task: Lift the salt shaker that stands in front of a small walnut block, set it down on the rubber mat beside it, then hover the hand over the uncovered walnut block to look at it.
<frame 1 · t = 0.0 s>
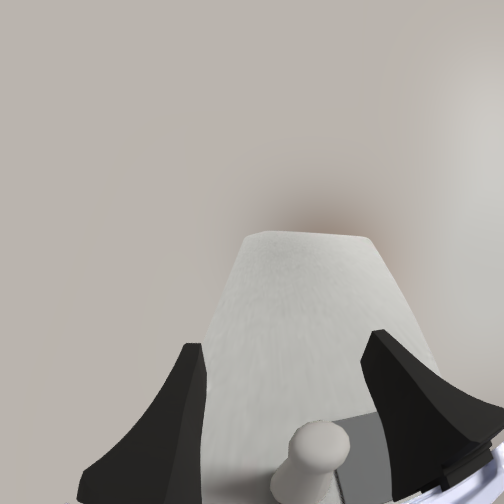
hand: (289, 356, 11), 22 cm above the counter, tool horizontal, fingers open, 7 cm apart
salt shaker: (297, 490, 19), on the counter
rubber mat: (383, 454, 22), on the counter
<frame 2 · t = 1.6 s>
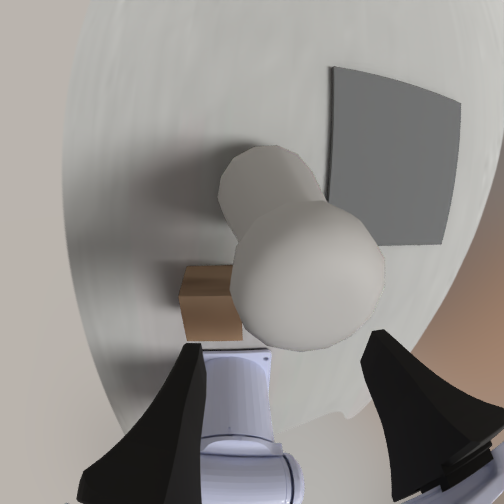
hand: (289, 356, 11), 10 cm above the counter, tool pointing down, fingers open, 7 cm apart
salt shaker: (263, 184, 18), on the counter
rubber mat: (401, 165, 18), on the counter
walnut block: (214, 287, 21), on the counter
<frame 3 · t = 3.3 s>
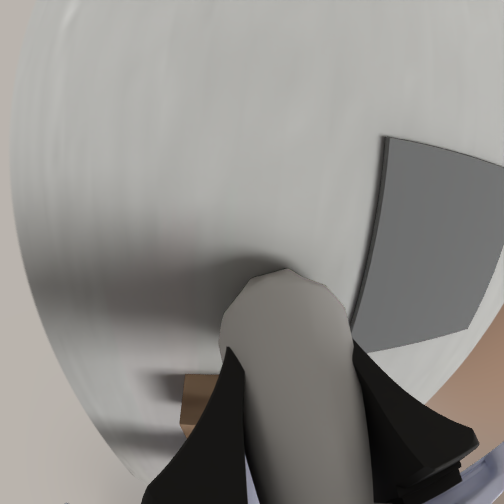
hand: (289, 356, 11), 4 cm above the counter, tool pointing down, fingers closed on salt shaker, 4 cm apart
salt shaker: (277, 300, 14), on the counter, touching gripper
rubber mat: (446, 261, 13), on the counter
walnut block: (218, 389, 18), on the counter
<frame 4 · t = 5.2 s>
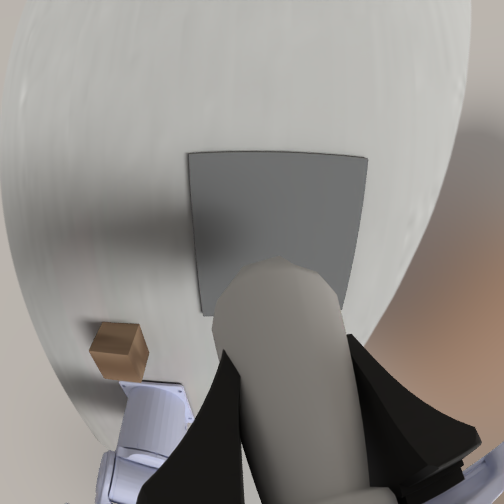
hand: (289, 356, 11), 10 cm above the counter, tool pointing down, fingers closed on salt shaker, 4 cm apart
salt shaker: (269, 288, 14), point 6 cm above the counter, touching gripper
rubber mat: (278, 242, 20), on the counter
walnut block: (126, 337, 24), on the counter
when the fingers open (5 cm above the counter, at t = 7.0 s): salt shaker stays where it is, resting on rubber mat.
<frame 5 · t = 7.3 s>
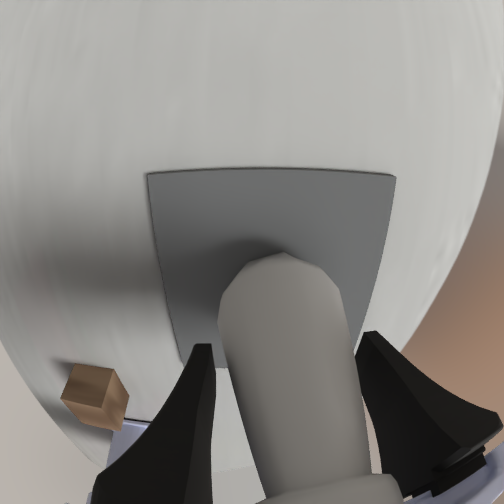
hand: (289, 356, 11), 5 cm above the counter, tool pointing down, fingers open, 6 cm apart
salt shaker: (273, 284, 15), resting on rubber mat
rubber mat: (274, 287, 15), on the counter
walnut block: (102, 379, 19), on the counter
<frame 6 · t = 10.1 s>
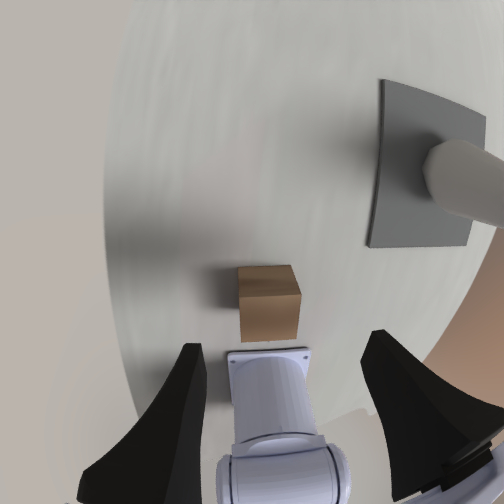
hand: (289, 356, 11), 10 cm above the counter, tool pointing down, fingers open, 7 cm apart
salt shaker: (438, 169, 17), resting on rubber mat
rubber mat: (436, 173, 18), on the counter
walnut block: (264, 287, 22), on the counter
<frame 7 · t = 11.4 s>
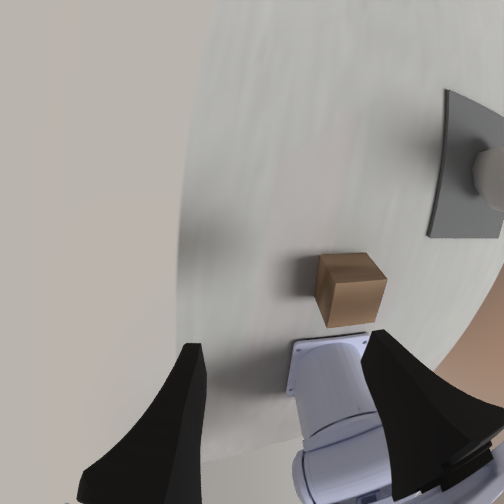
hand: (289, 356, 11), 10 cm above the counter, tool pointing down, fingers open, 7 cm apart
salt shaker: (482, 170, 17), resting on rubber mat
rubber mat: (481, 173, 18), on the counter
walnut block: (339, 274, 22), on the counter
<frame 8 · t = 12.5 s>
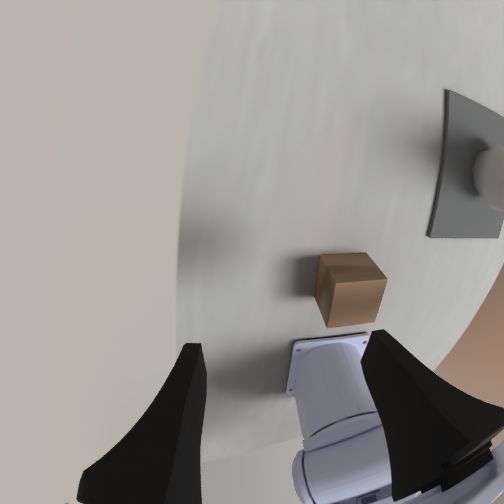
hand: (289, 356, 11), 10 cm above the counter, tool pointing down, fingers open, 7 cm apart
salt shaker: (482, 170, 17), resting on rubber mat
rubber mat: (481, 173, 18), on the counter
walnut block: (339, 274, 22), on the counter
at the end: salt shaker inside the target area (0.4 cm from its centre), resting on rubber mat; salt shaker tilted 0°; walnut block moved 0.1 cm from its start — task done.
